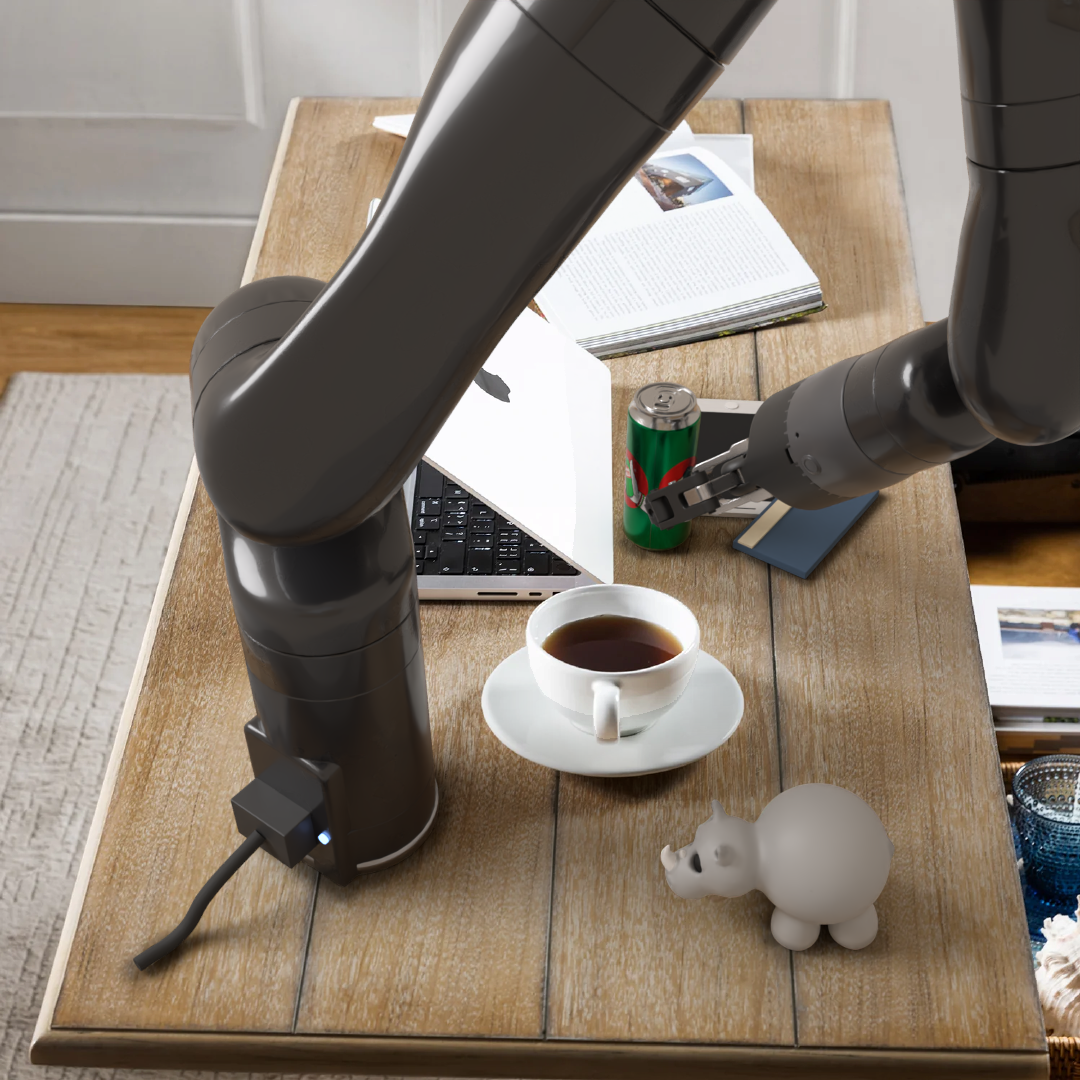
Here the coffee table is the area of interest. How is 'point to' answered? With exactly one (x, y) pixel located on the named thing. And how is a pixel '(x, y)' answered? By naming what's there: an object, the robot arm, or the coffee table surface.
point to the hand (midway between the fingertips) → (703, 490)
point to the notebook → (799, 533)
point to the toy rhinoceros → (794, 863)
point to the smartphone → (727, 442)
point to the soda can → (658, 457)
